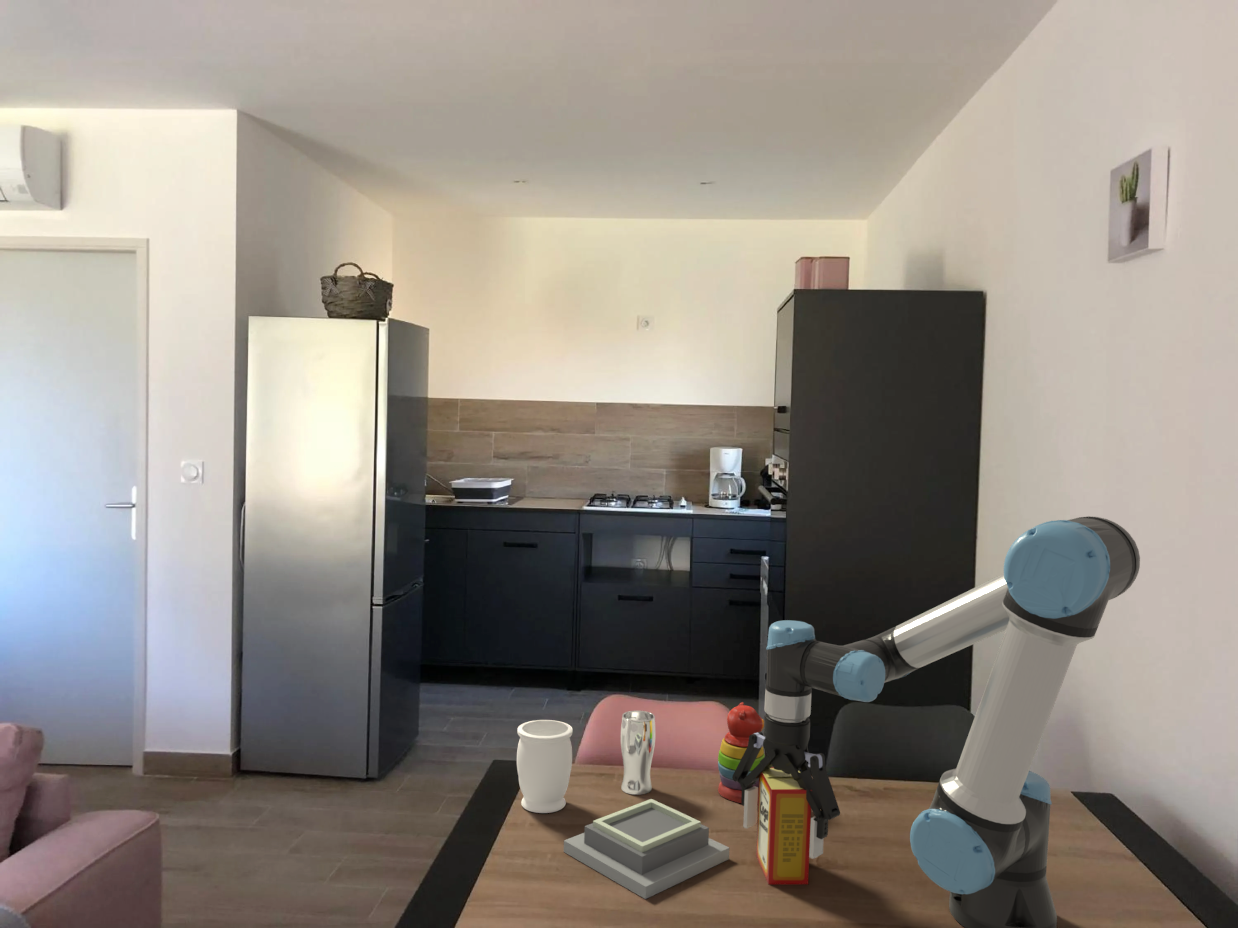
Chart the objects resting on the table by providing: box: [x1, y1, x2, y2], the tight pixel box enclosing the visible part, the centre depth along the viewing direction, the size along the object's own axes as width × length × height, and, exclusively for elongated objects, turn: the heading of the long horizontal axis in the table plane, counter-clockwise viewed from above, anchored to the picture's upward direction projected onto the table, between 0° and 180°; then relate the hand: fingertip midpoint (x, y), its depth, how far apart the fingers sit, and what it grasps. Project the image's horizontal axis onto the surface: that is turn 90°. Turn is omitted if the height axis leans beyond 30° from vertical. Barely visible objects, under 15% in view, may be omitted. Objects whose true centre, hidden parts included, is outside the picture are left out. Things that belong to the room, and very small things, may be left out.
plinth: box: [563, 798, 730, 900], centre depth 157 cm, size 20×20×6 cm
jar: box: [516, 719, 573, 814], centre depth 176 cm, size 11×10×15 cm
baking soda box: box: [755, 766, 812, 886], centre depth 153 cm, size 10×6×16 cm
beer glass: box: [620, 710, 656, 796], centre depth 184 cm, size 7×7×15 cm
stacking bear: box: [717, 701, 766, 807], centre depth 184 cm, size 11×10×18 cm
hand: (781, 840), depth 153 cm, fingers open, 13 cm apart
